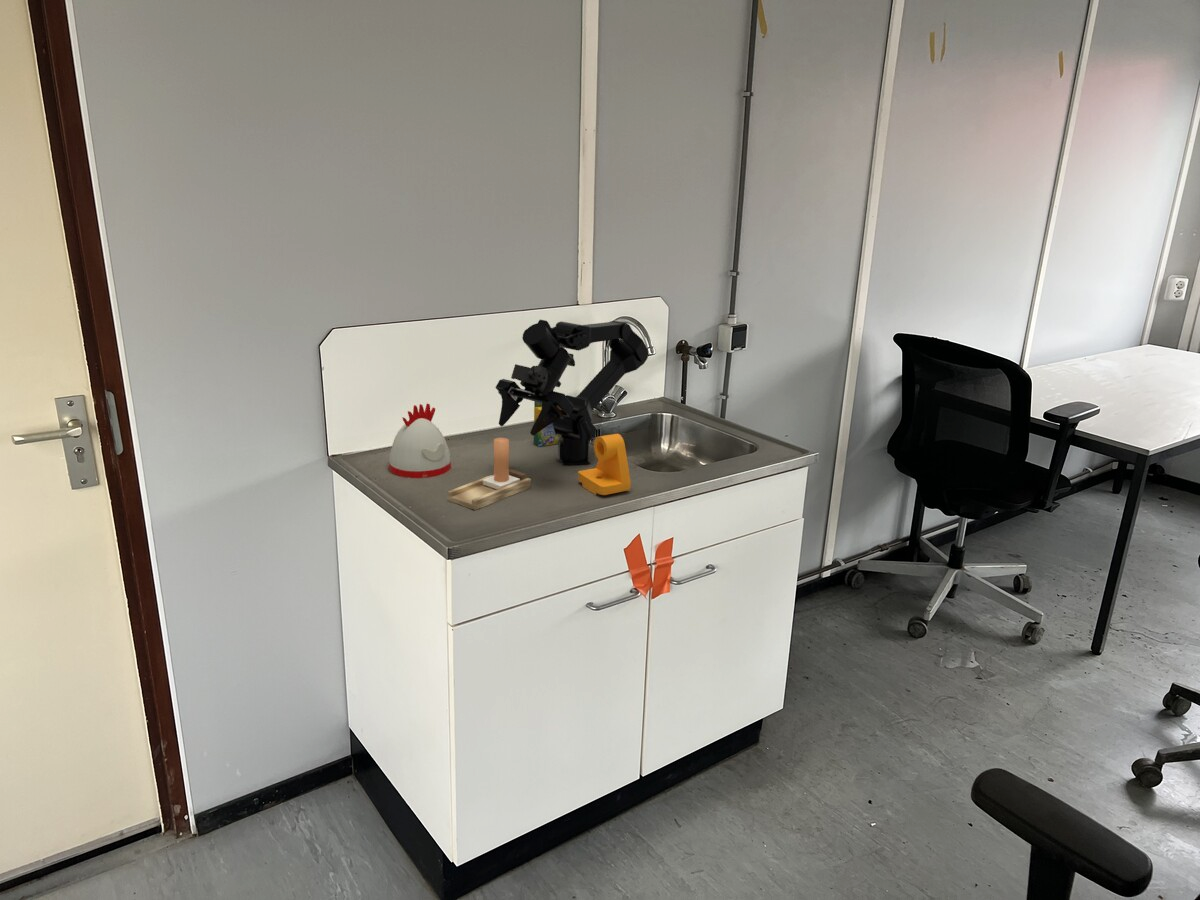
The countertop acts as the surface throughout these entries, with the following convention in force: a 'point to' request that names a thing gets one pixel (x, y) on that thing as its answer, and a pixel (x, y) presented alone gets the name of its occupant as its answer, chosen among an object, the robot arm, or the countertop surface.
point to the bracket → (607, 467)
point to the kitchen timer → (419, 447)
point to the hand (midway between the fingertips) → (515, 429)
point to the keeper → (501, 466)
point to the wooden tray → (487, 491)
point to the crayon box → (544, 430)
